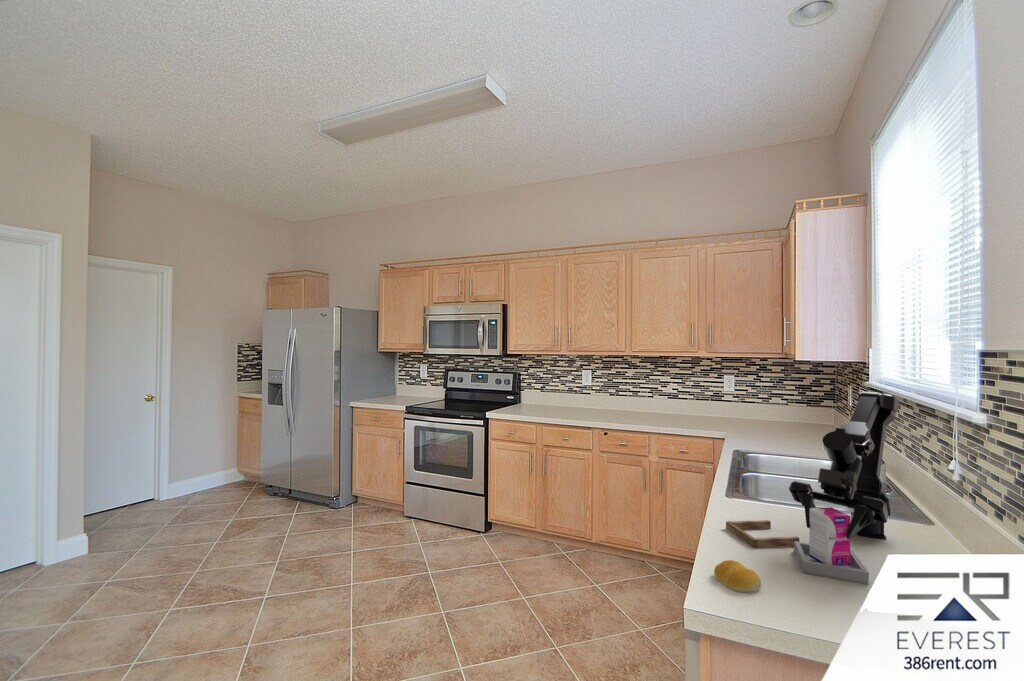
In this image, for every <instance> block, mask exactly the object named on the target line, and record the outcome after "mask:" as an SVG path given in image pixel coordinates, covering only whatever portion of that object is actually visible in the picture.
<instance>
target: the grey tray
mask: <svg viewBox="0 0 1024 681" xmlns="http://www.w3.org/2000/svg"><path fill="white" fill-rule="evenodd" d="M793 552H794V554H795V556H796V559H797V562H798V564H799V565H800V569H801V571H802V573H803V574H807V575H812V576H817V577H823V578H828V579H829V578H830V579H834V580H839V581H847V582H853V583H857V582H862V583H861V584H863V583H869V584H870V581H869V580H870V579H869V578H870V577H869V576H870V572H869V571H868V569H867V567H866V566H865V565H864V563H863V562H862V561H861V559H860V558H859V557H858V555H857V554H856V552H855V551H854V549H850V566H836V565H830V564H824V563H820V562H818V561H816V560H814V559H813V558H811V557H810V556H809V555H810V542H809V543H808V542H803V541H802V542H801V541H799V542H797V541H794V546H793Z"/></svg>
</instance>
